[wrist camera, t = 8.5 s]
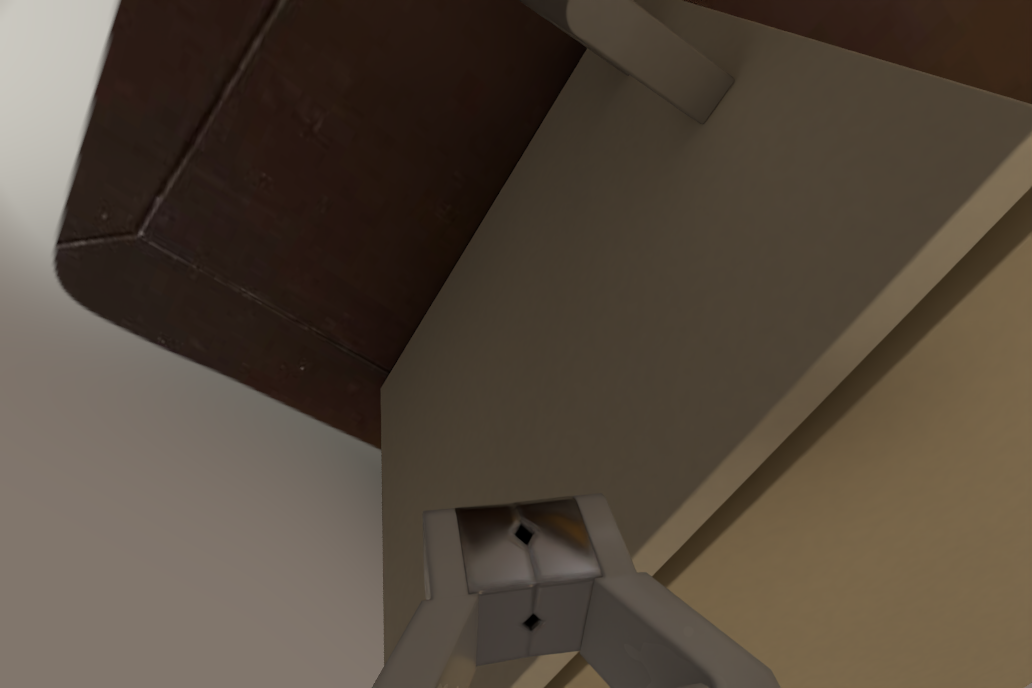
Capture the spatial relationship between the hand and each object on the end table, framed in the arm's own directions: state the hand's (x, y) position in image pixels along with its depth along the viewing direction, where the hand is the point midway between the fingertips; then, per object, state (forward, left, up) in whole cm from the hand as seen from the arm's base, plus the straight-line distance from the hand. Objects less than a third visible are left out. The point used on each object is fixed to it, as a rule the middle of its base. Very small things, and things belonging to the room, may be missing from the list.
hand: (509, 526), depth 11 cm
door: (+3, -3, -26) cm, 27 cm away
